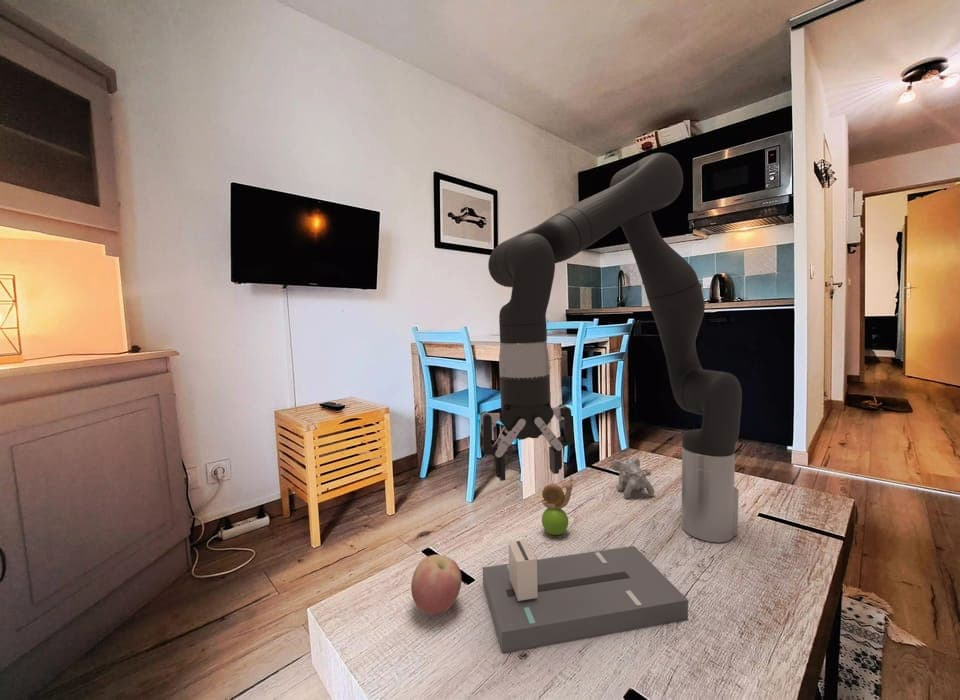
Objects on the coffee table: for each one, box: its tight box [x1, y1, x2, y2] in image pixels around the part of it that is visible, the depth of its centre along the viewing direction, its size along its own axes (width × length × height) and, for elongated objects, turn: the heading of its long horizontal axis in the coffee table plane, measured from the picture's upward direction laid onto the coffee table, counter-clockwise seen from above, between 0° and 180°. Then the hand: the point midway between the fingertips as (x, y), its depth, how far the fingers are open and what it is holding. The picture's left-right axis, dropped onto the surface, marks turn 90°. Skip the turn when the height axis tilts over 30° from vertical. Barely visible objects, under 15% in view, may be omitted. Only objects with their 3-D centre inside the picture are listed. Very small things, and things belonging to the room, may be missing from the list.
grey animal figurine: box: [611, 457, 655, 499], centre depth 100 cm, size 9×12×8 cm
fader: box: [508, 540, 538, 601], centre depth 60 cm, size 3×5×6 cm, turn 10°
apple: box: [410, 554, 462, 615], centre depth 60 cm, size 8×8×8 cm
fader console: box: [482, 545, 689, 654], centre depth 61 cm, size 28×14×3 cm, turn 100°
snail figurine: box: [541, 477, 574, 536], centre depth 80 cm, size 5×6×12 cm
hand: (528, 475), depth 60 cm, fingers open, 8 cm apart
